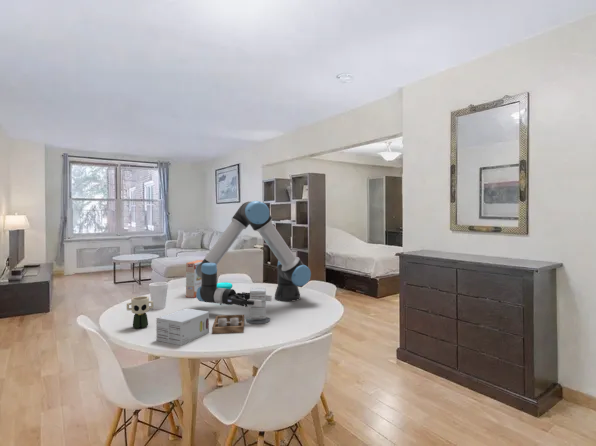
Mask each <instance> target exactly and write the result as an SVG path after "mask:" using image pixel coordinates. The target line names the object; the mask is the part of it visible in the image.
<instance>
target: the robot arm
mask: <svg viewBox="0 0 596 446" xmlns="http://www.w3.org/2000/svg"><path fill="white" fill-rule="evenodd" d="M269 208H270V207H268V205H267V203H264V202H262V201H259V200H252V201H247V202H243V203H242V204H241V205H240V206H239V208H238V209H237V211H236V212H235V213H234V215H233V216H232V217H231V222H230V223H229V225H228V226H227V227H226V229H225V230H224V231H223V233H222V234H221V236H219V238H218V240H217V241H216V242H215V244H214V245H213V247H212V248H211V249H210V251H208V253H207V254H206V256H205V257H204V258H203V259H202V260H203V261H202V263H200V264H198V265H197V267H196V273H197V275H198V276H199V277H201V281H202V284H201V287H199V288H198V289H197V293H196V297H195V298H196V299H197V300H198V301H199V302H204V303H212V304H219V305H220V306H222V305H229V306H232V305H236V306H240V307H245V308H247V307H248V306H250V305H251V306H260V307H261V300H254V299H250V292H244V291H243V292H242V291H241V292H237V293H236V290H235V289H233V288H231V289H226V288H217V283H218V268H217V267H218V264H220V262H221V261H222V259H223V258H224V256H225V255H226V253H227V252H228V251H229V250H230V248H231V247H232V246H233V244H234V242H235V241H236V240H237V239H238V237H239V236H240V235H241V233H242V232H243V231H244V230H246V229H247V228H248V227H249V226H250V227H251V228H252V230H253V231H254V232H258V234H260V236H261V238H262V239H263V240H264V242H265V244H266V245H267V246H268V247H269V249H270V250H271V252H272V253H273V255H274V256H275V257H276V258H275V259H277V266H276V267H277V286H276V289H275V294H274V300H277V301H279V300H280V301H281V302H293V301H292V300H295V301H298V300H297V299H299V298H300V299H301V293H300V289H299V287H303V286H305V285H307V284H308V283H309V281H310V280H311V277H312V272H311V269H310V267H308V266H307V265H305V263H303V261H302V260H301V259H300V257H298V256H295V255H294V253H293V252H292V250H291V249H290V247H289V246H288V244H287V243H286V241H285V239H284V238H283V236H282V235H281V234H280V233H279V232H280V231H278V230H277V228H276V227H275V225H274V224H273V222H272V221H273V217H272V216H271V215H270V209H269ZM300 299H299V300H300ZM272 301H273V298H272V295H271V294H270V295H268V294H266V302H272Z"/></svg>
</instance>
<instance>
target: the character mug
mask: <svg viewBox="0 0 596 446" xmlns="http://www.w3.org/2000/svg"><path fill="white" fill-rule="evenodd" d="M130 306H131V307H130ZM152 308H153V301H151V300H150V298H149V296H145V295H143V296H141V295H140V296H134V297H132V298H131V301H130V302H127V303H126V311H131V314H134V315H133V319H132V328H134V329H140V327H141V328H146V327H147V326H149V320H148V315H147V313H148V312H149V311H150V309H152Z"/></svg>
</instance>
